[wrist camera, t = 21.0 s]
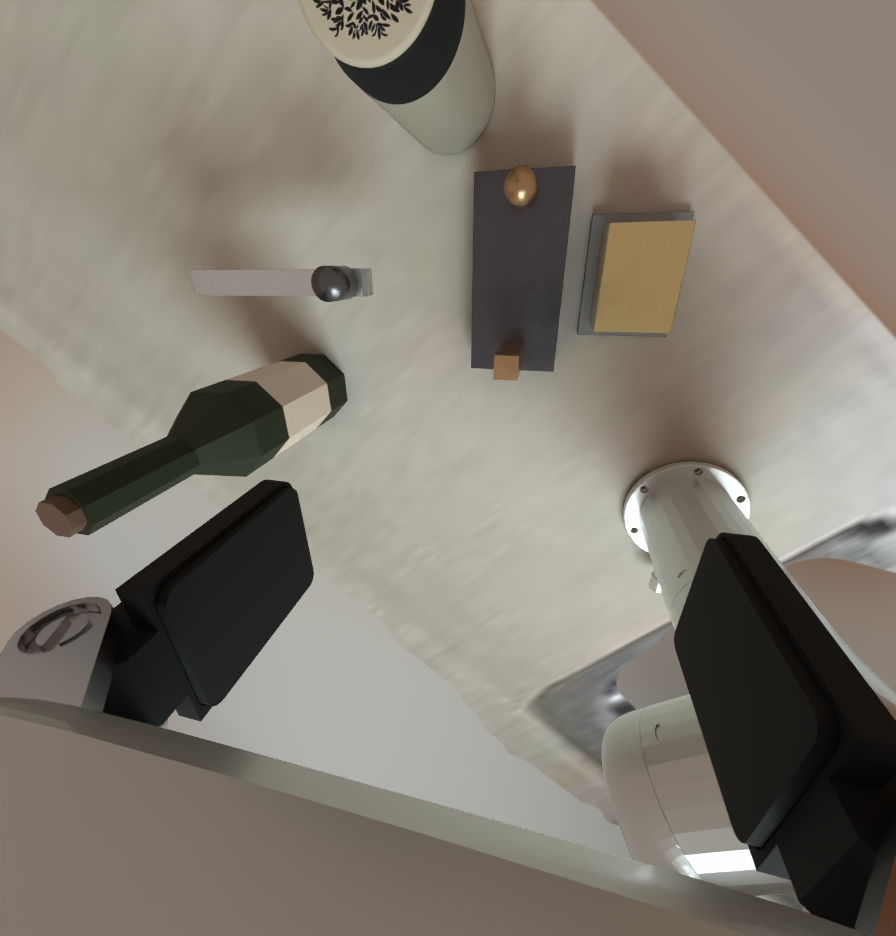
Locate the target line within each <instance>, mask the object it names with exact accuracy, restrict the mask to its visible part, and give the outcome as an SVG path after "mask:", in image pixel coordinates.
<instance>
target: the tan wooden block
mask: <svg viewBox="0 0 896 936" xmlns="http://www.w3.org/2000/svg"><path fill="white" fill-rule="evenodd" d="M695 223H696V220H686V221H654V222H622V223H609V224H608V225H607V226H605V227H604V228H603V233H602V240H601V247H600V254H599V261H598V268H597V275H596V282H595V289H594V296H593V303H592V310H591V317H590V326H591V328H592V329H593V331H594V332H634V333H670V331H671V327H672V322H673V318H674V314H675V309H676V305H677V301H678V296H679V292H680V288H681V283H682V279H683V275H684V270H685V266H686V262H687V257H688V253H689V249H690V244H691V240H692V236H693V231H694V227H695Z"/></svg>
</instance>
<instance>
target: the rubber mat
mask: <svg viewBox="0 0 896 936" xmlns="http://www.w3.org/2000/svg"><path fill="white" fill-rule="evenodd" d="M693 215H694V211H688V212H660V213H631V214H603V215H593V216H592V223H591V231H590V238H589V246H588V254H587V261H586V269H585V277H584V284H583V292H582V300H581V307H580V315H579V323H578V330H577V334H580V335H621V336H661V337H666V334H667V333H634V332H594V331H593V329H592V328H591V326H590V317H591V310H592V303H593V296H594V289H595V282H596V275H597V268H598V261H599V254H600V247H601V240H602V233H603V228H604V227H605V226H607V225H608V224H609V223H622V222H654V221H686V220H692V219H693Z"/></svg>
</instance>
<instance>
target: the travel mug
mask: <svg viewBox="0 0 896 936" xmlns="http://www.w3.org/2000/svg"><path fill="white" fill-rule="evenodd" d="M299 3H300V6H301V9H302V11H303V14H304V16H305V18H306V21H307V23H308V24H309V26H310V28H311V30H312V32H313V33H314V35H315V36H316V38H317V39H318V40H319V42H320V43H321V44H322V45H323V46H324V47H325V49H326V50H327V51H329V52H330V53H331V54H332V55H333V56H334V57H335V59H336V60H337V62H338V64H339V65H340V67H341V68H342V70H343V71H344V72H345V73H346V75H347V76H348V77H349V78H350V79H351V80H352V81H353V82H354V83H355V84H357V85H358V86H359V87H360V88H361V89H362V90H363V91H364V92H365V93H366V94H367V95H368V96H370V97H371V98H372V99H373V100H374V101H375V102H376V103H377V104H378V105H379V106H380V107H382V108H383V109H384V110H385V111H386V112H387V113H388V114H389V115H390V116H391V117H392V118H393V119H395V120H396V121H397V122H398V123H399V124H400V125H401V126H402V127H403V128H404V129H405V130H407V131H408V132H409V133H410V134H411V135H412V136H413V137H414V138H415V139H416V140H417V141H418V142H420V143H421V144H422V145H423V146H424V147H425V148H427V149H428V150H430V151H432V152H434V153H437V154H442V155H451V154H456V153H459V152H461V151H463V150H465V149H467V148H468V147H470V146H471V145H472V144H473V143H474V142H475V141H476V140H477V139H478V138H479V137H480V135H481V134H482V133H483V131H484V130H485V128H486V126H487V124H488V122H489V119H490V117H491V114H492V110H493V106H494V100H495V78H494V72H493V68H492V64H491V61H490V58H489V55H488V52H487V48H486V45H485V42H484V39H483V35H482V32H481V29H480V26H479V22H478V19H477V16H476V13H475V9H474V6H473V3H472V0H299Z"/></svg>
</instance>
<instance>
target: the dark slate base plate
mask: <svg viewBox="0 0 896 936" xmlns="http://www.w3.org/2000/svg"><path fill="white" fill-rule="evenodd" d="M575 169H576V166H566V167H549V168H533V169H530V168H529V167H527V166H522V165H521V166H516V167H514V168H513V169H512V170H499V171H483V172H475V173H474V231H473V290H472V348H471V368H485V369H494V378H493V379H500V380H517V379H518V376H519V373H520V370H530V371H553V370H554V361H555V351H556V342H557V333H558V324H559V315H560V306H561V297H562V288H563V278H564V269H565V260H566V251H567V242H568V233H569V224H570V214H571V205H572V196H573V187H574V178H575Z"/></svg>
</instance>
